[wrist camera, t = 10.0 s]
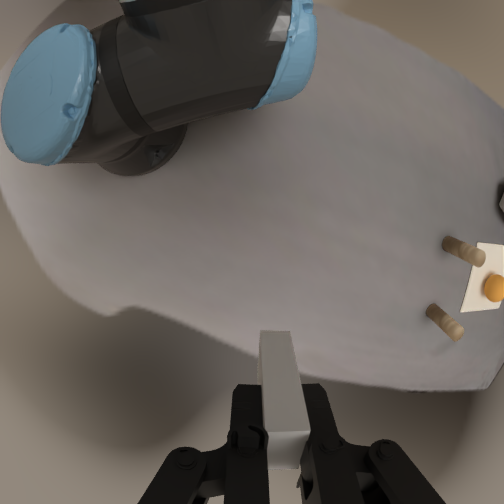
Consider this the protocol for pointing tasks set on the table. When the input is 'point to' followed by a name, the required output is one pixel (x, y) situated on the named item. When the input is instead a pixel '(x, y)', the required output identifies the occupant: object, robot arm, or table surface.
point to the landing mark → (483, 278)
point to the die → (502, 203)
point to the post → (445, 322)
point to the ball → (494, 288)
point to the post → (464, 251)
